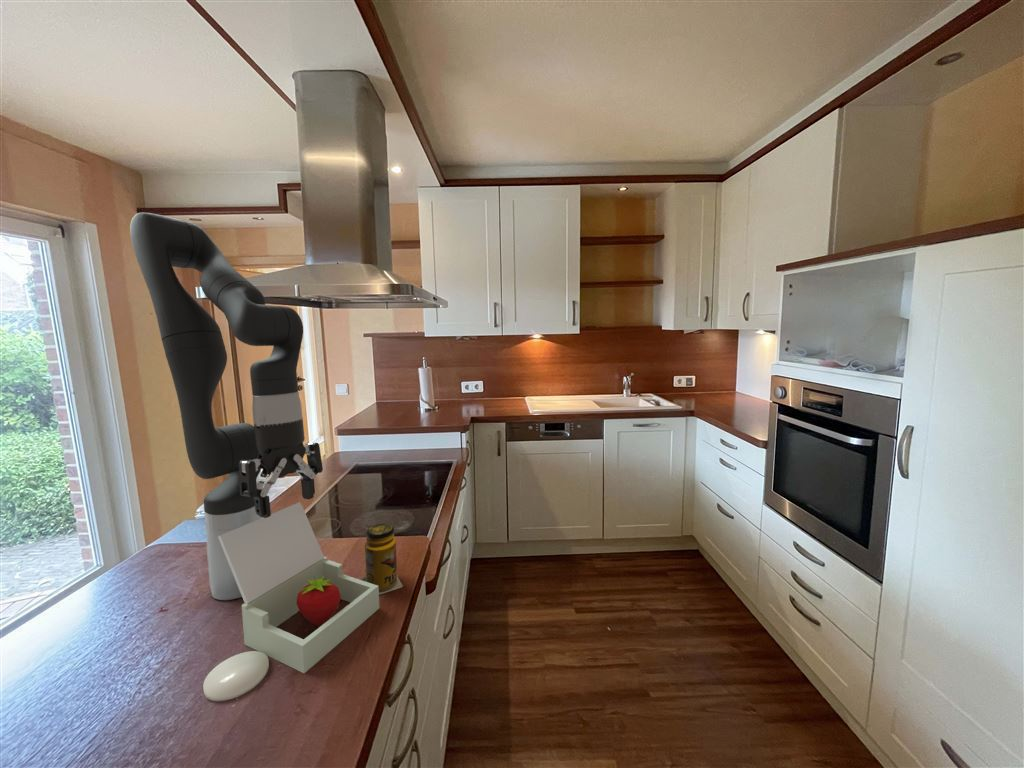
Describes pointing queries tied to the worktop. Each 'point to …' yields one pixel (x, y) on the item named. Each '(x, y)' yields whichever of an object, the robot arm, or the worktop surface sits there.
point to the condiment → (381, 558)
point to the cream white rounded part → (236, 676)
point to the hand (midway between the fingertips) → (287, 507)
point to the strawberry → (318, 601)
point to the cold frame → (290, 587)
